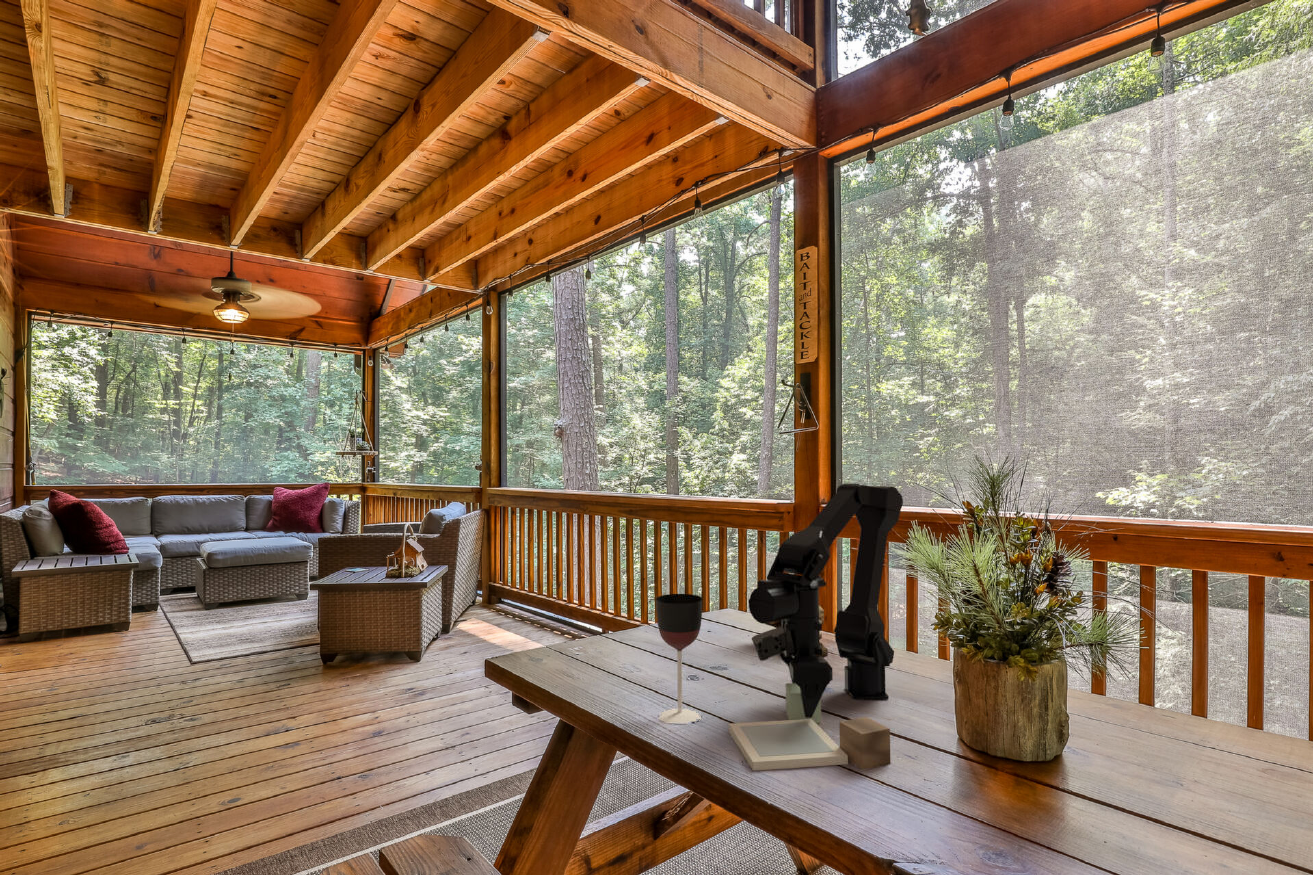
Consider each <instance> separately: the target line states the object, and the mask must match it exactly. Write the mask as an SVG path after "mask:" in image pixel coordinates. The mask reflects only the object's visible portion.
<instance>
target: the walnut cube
mask: <svg viewBox="0 0 1313 875" xmlns="http://www.w3.org/2000/svg"><path fill="white" fill-rule="evenodd" d="M838 723H839V727H838V728H839V747H840V748H841V749H842V750H843V751H844V752H845V753H846V754H847V755H848V763H849V762H850V763H851V764H853V765H855V766H856V767H858V768H859V769H860V770H862V771H863V770H867V769H872V768H877V767H881V766H885V765H891V763H892V762H891V729H890V727H888V726H886V725H883V724H881V723H879V722H877V721H876V720H873V719H871V718H869V717H868V716H862V717H857V718H852V719H847V720H842V721H839V722H838Z"/></svg>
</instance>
